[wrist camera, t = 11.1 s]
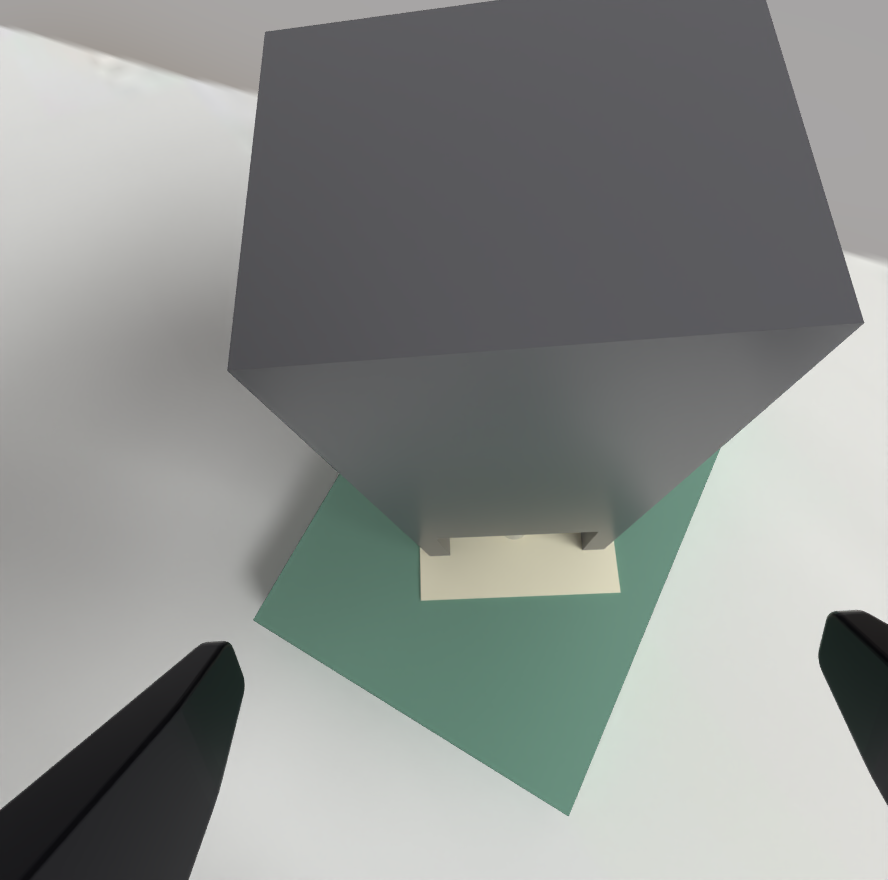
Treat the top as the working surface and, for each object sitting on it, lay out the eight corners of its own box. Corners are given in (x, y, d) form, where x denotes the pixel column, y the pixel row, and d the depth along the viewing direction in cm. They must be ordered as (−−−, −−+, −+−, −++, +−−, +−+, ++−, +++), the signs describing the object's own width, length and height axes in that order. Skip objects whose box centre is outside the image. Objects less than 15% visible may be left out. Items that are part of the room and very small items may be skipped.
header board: (563, 799, 15) (579, 853, 12) (273, 621, 18) (210, 618, 14) (738, 380, 19) (795, 317, 15) (472, 278, 21) (464, 202, 17)
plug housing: (603, 549, 16) (864, 322, 4) (430, 556, 16) (227, 370, 5) (588, 418, 17) (754, -36, 6) (427, 428, 18) (265, 32, 6)
